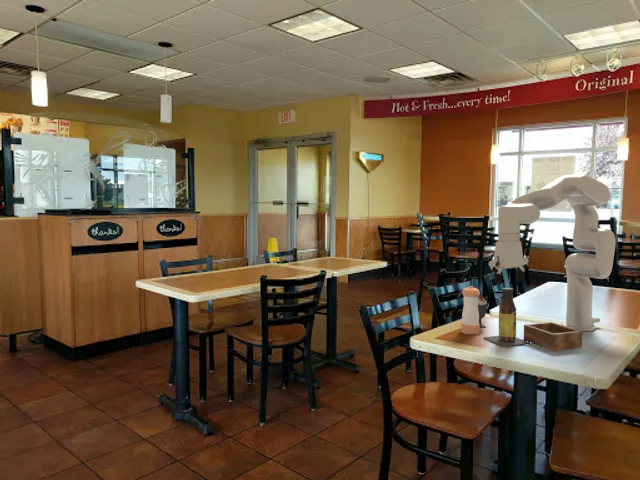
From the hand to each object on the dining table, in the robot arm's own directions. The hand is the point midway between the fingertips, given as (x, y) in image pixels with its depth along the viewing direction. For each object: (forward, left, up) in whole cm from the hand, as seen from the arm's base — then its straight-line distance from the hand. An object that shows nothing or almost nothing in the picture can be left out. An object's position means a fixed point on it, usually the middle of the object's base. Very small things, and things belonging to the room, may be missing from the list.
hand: (508, 282), depth 182 cm
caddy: (-13, +8, -23) cm, 28 cm away
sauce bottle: (0, 0, -22) cm, 22 cm away
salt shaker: (+6, -16, -23) cm, 28 cm away
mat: (+1, 0, -23) cm, 23 cm away
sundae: (-3, -22, -23) cm, 32 cm away
